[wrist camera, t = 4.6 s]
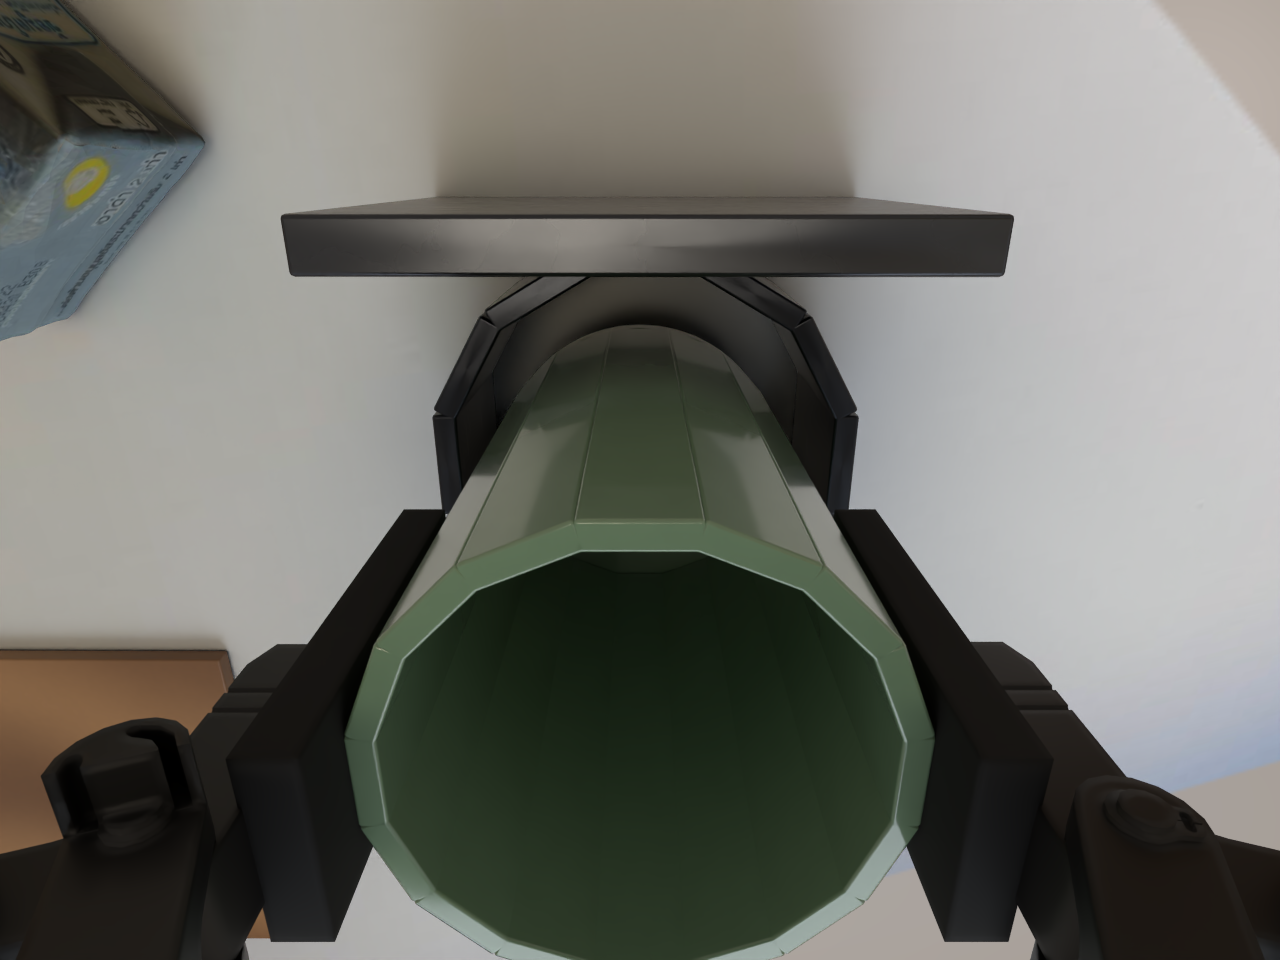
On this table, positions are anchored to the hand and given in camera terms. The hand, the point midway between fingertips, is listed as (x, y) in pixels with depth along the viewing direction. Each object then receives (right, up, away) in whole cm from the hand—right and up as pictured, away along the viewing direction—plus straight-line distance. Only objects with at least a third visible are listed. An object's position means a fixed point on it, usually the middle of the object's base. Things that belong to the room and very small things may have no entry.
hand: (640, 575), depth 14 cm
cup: (0, +2, +6) cm, 7 cm away
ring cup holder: (0, +4, +10) cm, 10 cm away
